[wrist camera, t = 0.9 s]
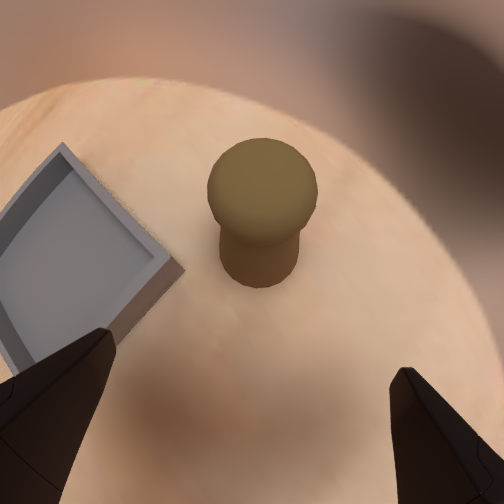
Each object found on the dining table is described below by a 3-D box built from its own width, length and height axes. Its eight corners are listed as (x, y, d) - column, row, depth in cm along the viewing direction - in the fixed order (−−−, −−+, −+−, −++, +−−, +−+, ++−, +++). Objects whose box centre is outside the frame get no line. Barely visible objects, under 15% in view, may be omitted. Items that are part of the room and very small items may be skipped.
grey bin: (65, 405, 19) (37, 412, 15) (-11, 277, 22) (-36, 267, 18) (185, 270, 23) (171, 256, 19) (81, 163, 26) (62, 141, 22)
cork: (224, 209, 24) (204, 116, 13) (299, 215, 24) (330, 125, 13) (214, 284, 22) (181, 232, 12) (296, 291, 22) (335, 245, 12)
